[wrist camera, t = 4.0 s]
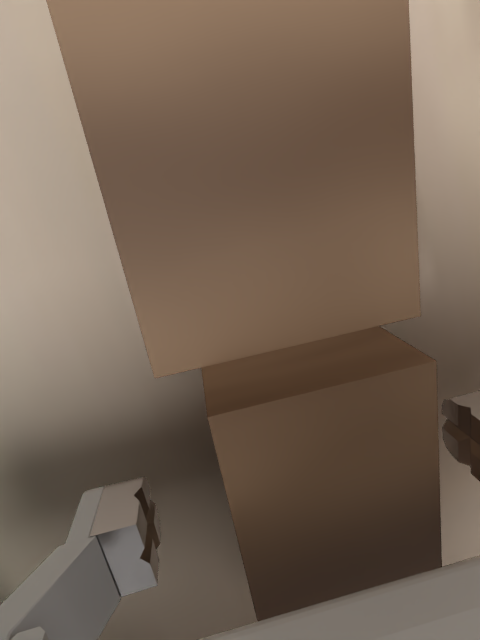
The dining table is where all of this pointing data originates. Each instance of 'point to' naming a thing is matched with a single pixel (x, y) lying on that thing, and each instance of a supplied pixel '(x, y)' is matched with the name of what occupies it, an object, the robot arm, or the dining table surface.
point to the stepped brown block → (276, 264)
